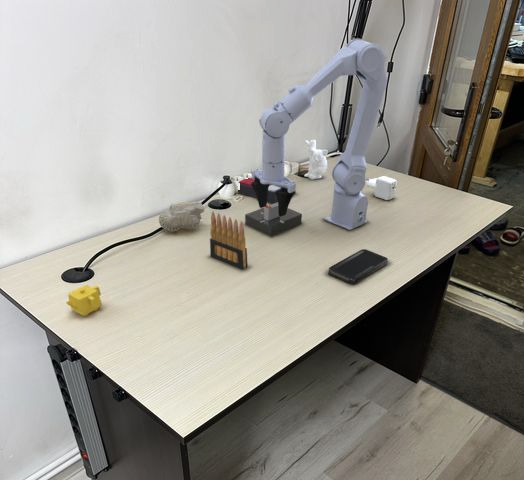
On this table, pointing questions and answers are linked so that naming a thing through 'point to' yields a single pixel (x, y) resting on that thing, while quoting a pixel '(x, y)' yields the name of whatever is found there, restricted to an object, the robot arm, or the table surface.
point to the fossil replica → (181, 216)
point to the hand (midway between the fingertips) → (272, 210)
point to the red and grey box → (248, 190)
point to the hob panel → (272, 221)
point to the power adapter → (383, 187)
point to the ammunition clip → (228, 242)
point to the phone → (357, 266)
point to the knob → (271, 212)
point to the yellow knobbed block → (85, 299)
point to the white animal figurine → (316, 161)
